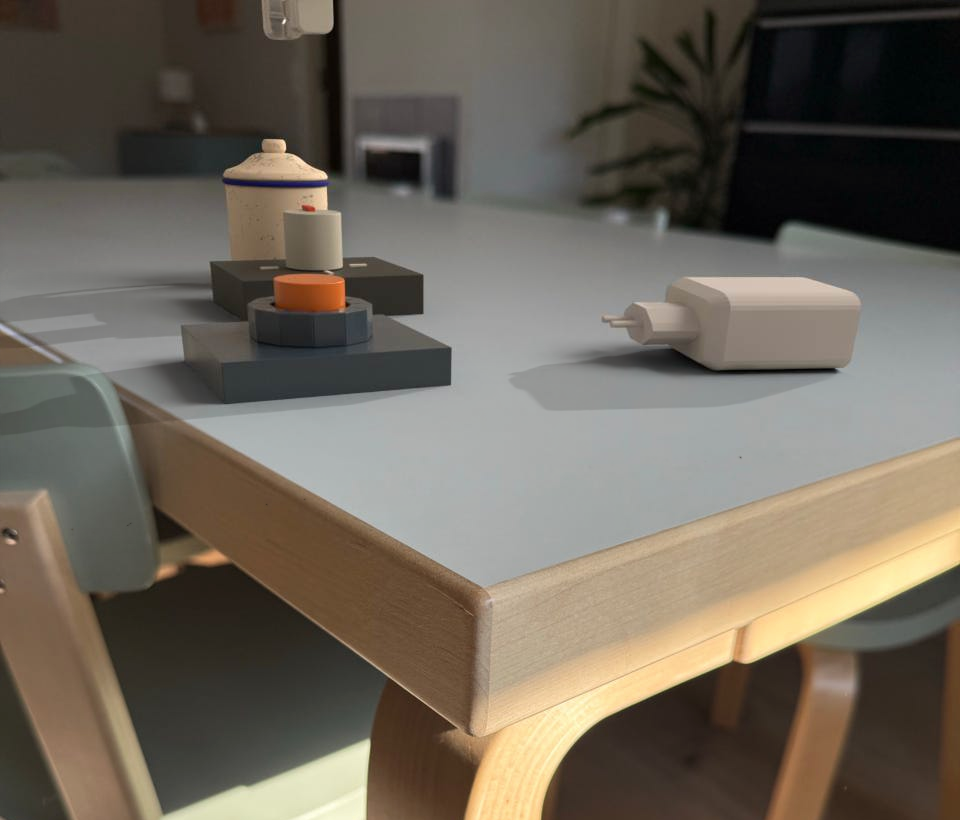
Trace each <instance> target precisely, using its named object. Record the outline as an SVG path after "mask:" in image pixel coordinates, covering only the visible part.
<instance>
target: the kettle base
mask: <svg viewBox="0 0 960 820" xmlns="http://www.w3.org/2000/svg"><path fill="white" fill-rule="evenodd" d="M342 258H343V267H342V268H340V269H336V270H326V271H307V270H296V269H290V268H288V267H286V259H277V260H241V261H232V260H211V261H209V268H210V278H211V279H210V280H211V288H212V290H211V291H212V299H213V301H214V302H216V304H219V305H220V306H221V307H222V308H224V309H225V310H227V311H228V312H229V313H231V314H232V315H234V316H235V317H236V318H237V319H239V320H241V322H246V321H248V309H247V304H248V303H250V302H252V301H254V300H255V299H258V298H264V297H270V296H274V281H273V280H274V278H275V277H278V276H282V275H290V274H324V275H333V276H338V277H342V278H344V280H345V296H347V297H353V298H360V299H363V300H365V301H367V302H369V303H371V304H372V315H381V314H383V315H385V316H387V317H397V316H414V315H416V316H417V315H424V309H425V307H424V306H425V305H424V300H425V299H424V295H425V294H424V292H425V291H424V290H425V289H424V287H425V286H424V285H425V284H424V283H425V282H424V281H425V280H424V277H425V275H424V274H423V273H421V272H418V271H415V270H412V269H409V268H406V267H404V266H401V265H398V264H395V263H392V262H389V261H387V260H384V259H381V258H378V257H376V256H357V257H355V256H354V257H353V256H352V257H342Z"/></svg>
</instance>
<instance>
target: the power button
mask: <svg viewBox="0 0 960 820" xmlns="http://www.w3.org/2000/svg"><path fill="white" fill-rule="evenodd" d="M273 281H274V296H275V308H281V309H288V310H304V311H318V310H334V309H340V308H345V280H344V278H342V277H338V276H333V275H324V274H290V275H282V276H278V277H275V278H274V280H273Z"/></svg>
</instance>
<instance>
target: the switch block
mask: <svg viewBox="0 0 960 820" xmlns="http://www.w3.org/2000/svg"><path fill="white" fill-rule="evenodd" d="M247 309H248V321H246V322H243V321H230V322H229V321H227V322H210V323H190V324H181V325H180V332H181V342H182V351H183V361H184V362H185V363H186V364H187V366H188V367H189V368H191V370H193V372H194V373H195V375H197V376H198V378H200V379H201V381H202V382H203V383H204V384H205V385H206V386H207V387H208V388H209V389H210V390H211V391H212V392H213V393H214V394H215V396H216V397H217V398H219V400H220V401H221V402H222V403H223V404H224V405H236V404H245V403H258V402H259V403H260V402H271V401H279V400H280V401H284V400H294V399H307V398H319V397H329V396H341V395H352V394H354V395H355V394H365V393H378V392H388V391H390V392H391V391H400V390H401V391H402V390H412V389H424V388H435V387H447V386H449V387H450V386H452V358H453V357H452V353H453V351H452V349H453V347H452V346H450V345H447V344H445V343H443V342H441V341H439V340H437V339H436V338H433V337H431V336H429V335H427V334H425V333H422V332H420V331H418V330H416V329H414V328H412V327H410V326H408V325H406V324H403V323H402V322H399V321H397V320H395V319H394V318H391V317H390V316H385V315H383V314H381V315H372V304H371V303H369V302H367V301H365V300H363V299H360V298H353V297H347V296H345V308H340V309H334V310H318V311H304V310H288V309H281V308H275V296H270V297H264V298H258V299H255V300H254V301H252V302H250V303H248V304H247Z"/></svg>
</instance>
